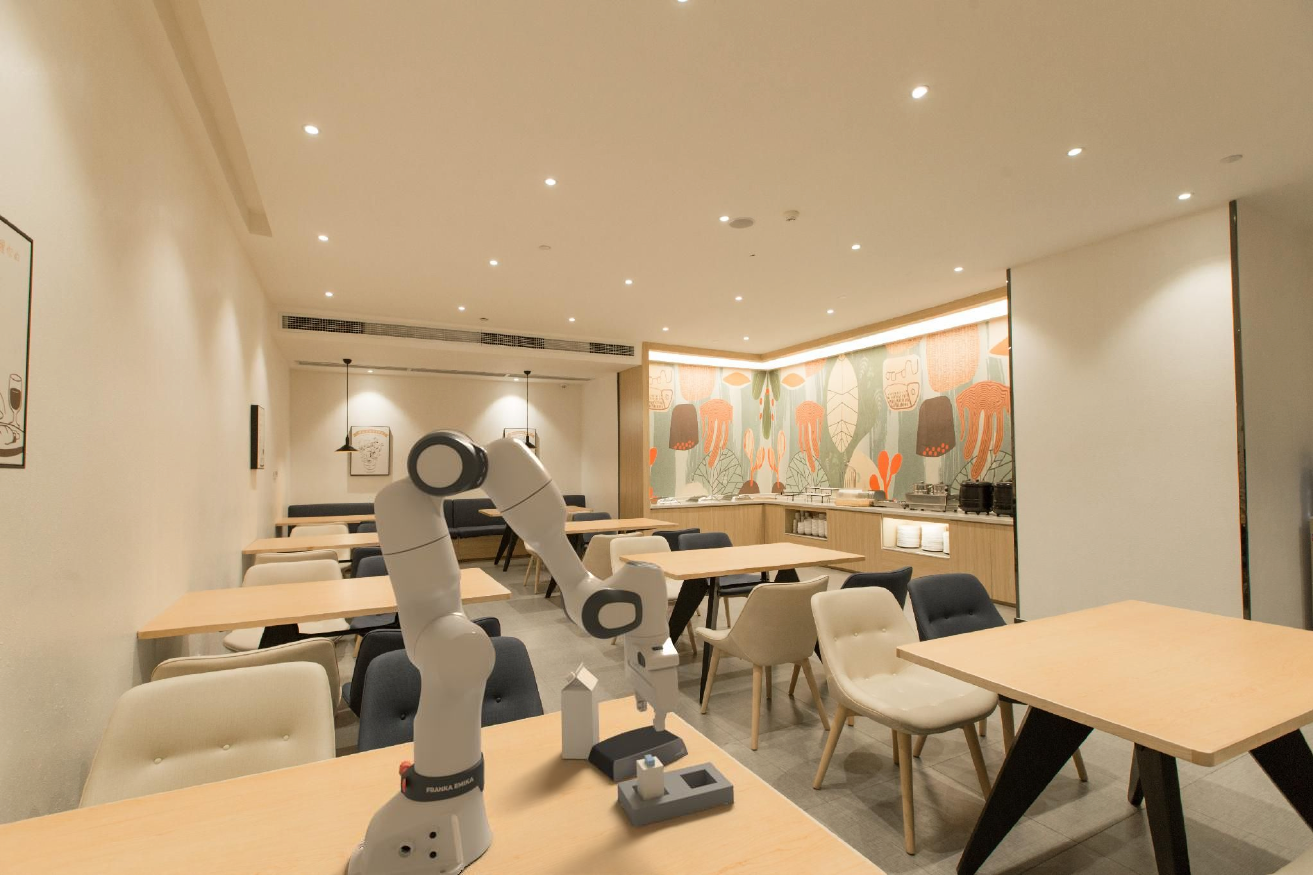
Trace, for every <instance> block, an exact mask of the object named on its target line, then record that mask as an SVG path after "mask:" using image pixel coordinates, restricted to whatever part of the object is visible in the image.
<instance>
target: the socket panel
mask: <svg viewBox="0 0 1313 875" xmlns="http://www.w3.org/2000/svg"><path fill="white" fill-rule="evenodd" d="M734 794H735V792H734V784H732V783H731V781H730V780H728V778H726V777H725V775H723V773H722V772H721V771H720V770H719V769H718V768H717V767H716V766H715V765H714V764H713V763H712V762H711V761H709V762H705V763H701V764H695V765H691V766H687V767H683V768H679V769H678V768H677V769H673V770H670V771H665V772H664V796H660V797H656V798H652V799H648V800H644V801H641V799H640V798H639V796H638V795H637V778H633V779H629V780H626V781H621V782H617V800H618V801H619V803H620V805H621V807H622V809H623V810H624V811H625V813H626V815H627V817H628V819H629V820H630V822H631V824H632V825H633V827H634V828H639V827H642V826H646V825H651V824H654V823H657V822H662V821H666V820H669V819H675V818H676V817H681V816H685V815H688V814H692V813H696V812H700V811H704V810H708V809H712V808H715V807H719V806H723V805H726V804H731V803H734V802H735V798H734V797H735V795H734Z"/></svg>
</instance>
